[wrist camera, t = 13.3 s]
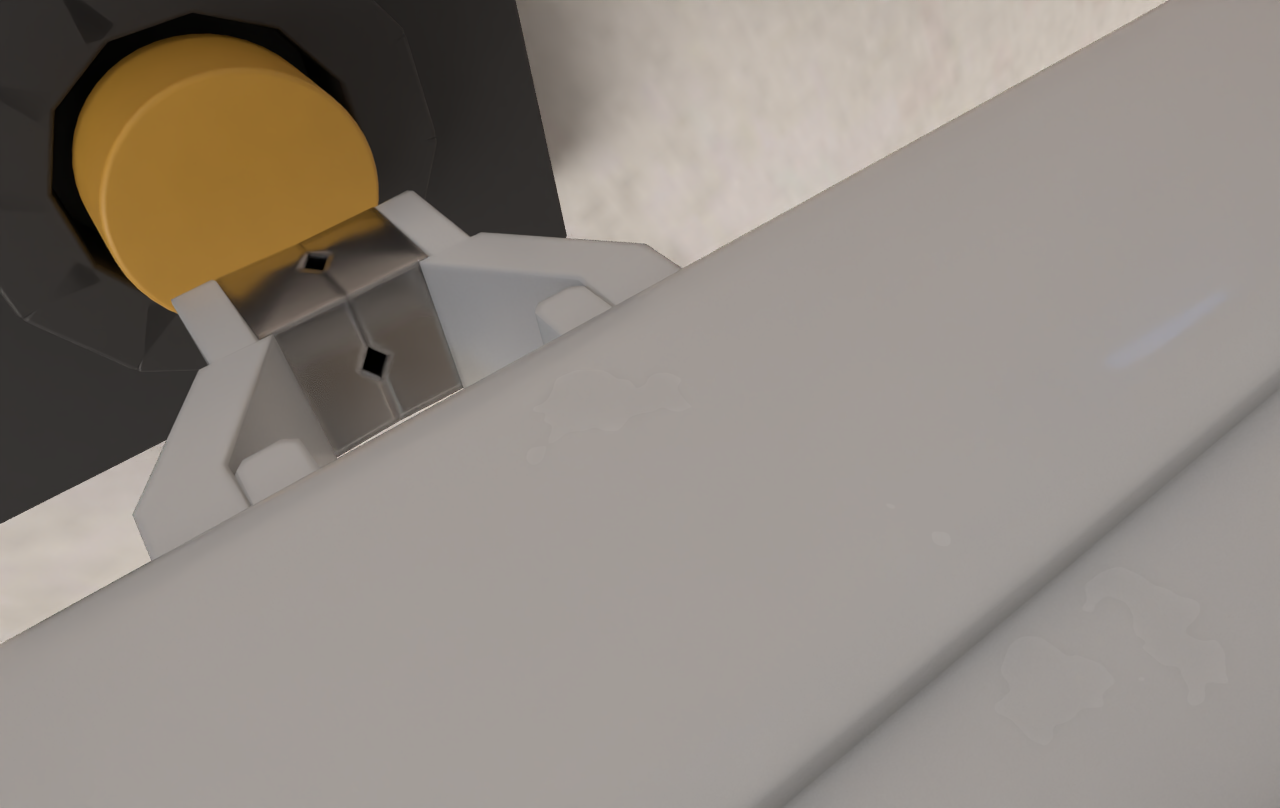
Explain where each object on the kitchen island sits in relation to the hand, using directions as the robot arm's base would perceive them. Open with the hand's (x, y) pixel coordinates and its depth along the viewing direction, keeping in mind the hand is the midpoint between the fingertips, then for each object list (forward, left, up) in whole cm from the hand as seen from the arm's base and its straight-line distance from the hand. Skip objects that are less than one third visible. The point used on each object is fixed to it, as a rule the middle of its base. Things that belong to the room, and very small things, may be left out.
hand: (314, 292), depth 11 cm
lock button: (0, 0, -4) cm, 4 cm away
